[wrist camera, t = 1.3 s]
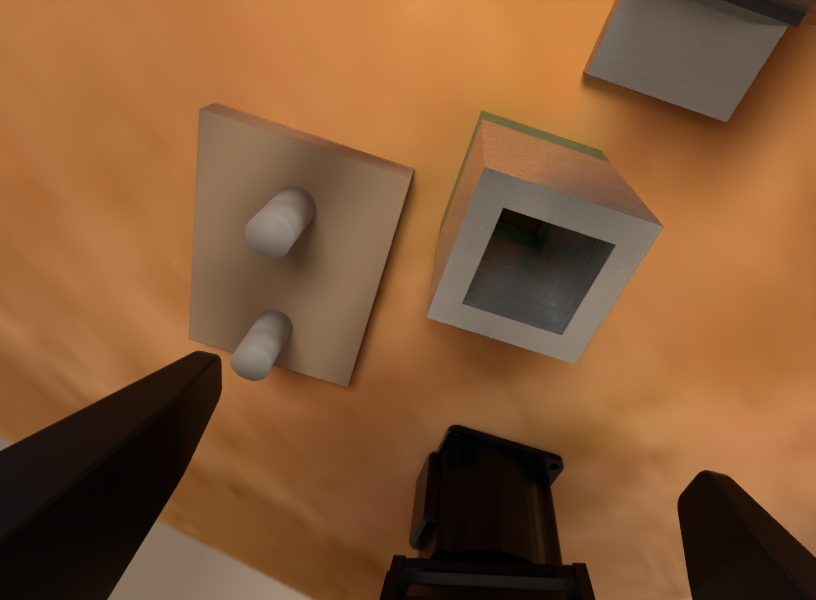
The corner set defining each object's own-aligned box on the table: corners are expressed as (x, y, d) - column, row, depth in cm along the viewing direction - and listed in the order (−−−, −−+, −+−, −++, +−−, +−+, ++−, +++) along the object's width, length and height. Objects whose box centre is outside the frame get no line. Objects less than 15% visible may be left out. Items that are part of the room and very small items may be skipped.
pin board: (414, 169, 19) (400, 207, 15) (352, 371, 25) (331, 433, 21) (214, 103, 18) (152, 127, 15) (200, 324, 24) (153, 380, 21)
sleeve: (600, 151, 18) (663, 226, 12) (546, 257, 20) (575, 364, 14) (481, 110, 17) (484, 166, 11) (441, 223, 20) (426, 317, 14)
